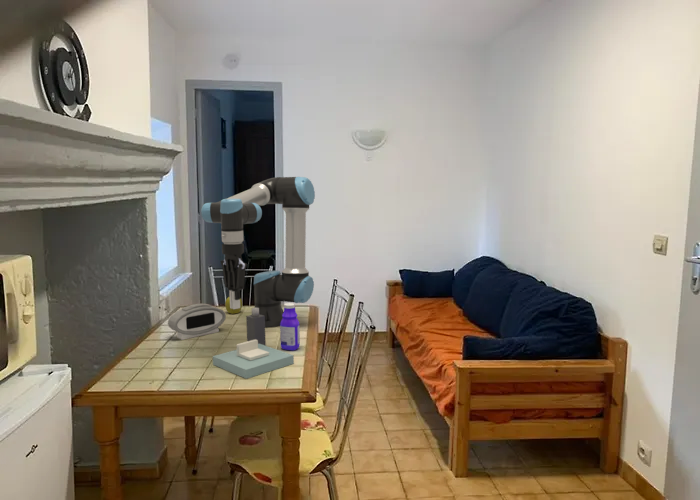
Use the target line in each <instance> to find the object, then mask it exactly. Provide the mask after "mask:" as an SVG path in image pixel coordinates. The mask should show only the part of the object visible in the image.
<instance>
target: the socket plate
mask: <svg viewBox="0 0 700 500" xmlns="http://www.w3.org/2000/svg"><path fill="white" fill-rule="evenodd" d="M258 348H259V349H261V350H264V351H267V352H269V355H268V356H264V357H261V358H257V359H254V360H251V361H250V360H248V359H245V358H242V357H240V356H237V349H234V350H230V351H227V352H223V353H219V354H216V355H213V356H212V365H213V366H215V367H217V368H220V369H223V370H225V371H227V372H230V373H232V374H234V375H237V376H238V377H239V376H240V377H242V378H244V379H245V380H246V379H247V380H248V379H250V378H253V377H256V376H259V375H262V374H265V373H269V372H271V371H275V370H279V369H281V368H284V367H287V366H290V365H293V364H294V363H295V360H294V357H295V356H294V355H295V354H290V353H288V352H285V351H282V350H279V349H276V348H274V347H270V346H268V345H266V346H265V345H262V344H258Z"/></svg>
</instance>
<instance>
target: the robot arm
mask: <svg viewBox="0 0 700 500" xmlns="http://www.w3.org/2000/svg"><path fill="white" fill-rule="evenodd" d="M313 184H314V183H312V181H311V179H309V178H308V177H305V176H282V177H281V176H276V177H271V178H267V179H265V180H262V181H260V182H258V183H255V184H253V185H252V186H251V188H249V189H247V190H244V191H242V192H239V193H237V194H234V195H232V196H229V197H228V198H227V197H226V198H224V199H221V200H219V201H217V202H206V203H204V204H203V205H202V207H201V210H200V213H201V218H202V220H203V221H204V222H206V223H210V224H211V223H212V224H221V227H220V228H221V229H220V230H221V231H220V232H221V242H222V244H221V252H222V255H224V259H222V260H220V265H221V268H222V274H223V282H224V287H225V288H227V289H228V293H229V294H228V297H229V298H230V308H231V309H232V308H233V309H238V308H240V298H241V291H242V290H244V289H245V278H246V270H247V269H246V268H247V267H248V264H247V263H246V262H244V261H243V258H242V255H243V254H244V253H245V250H244V249H245V248H244V245H245V244H244V243H243V242H244V225H247V224H255V223H258V221H260V220H261V218H262V215H263V210H262V208H261V206H265V205H282V206H281V208H282V210H283V211H284V212H285V256H284V257H285V261H284V262H285V263H284V265H285V266H284V269H283V270H281V271H280V270H269V271H263V272H259V273H256V274H254V277H253V293H254V294H253V295H254V298H253V299H254V308H259V314H260V315H263V316H265V328H275V327H280V323H281V321H282V318H283V317H282V314H283V313H284V308H283V307H282V302H284V303H294V304H300V303H301V304H305V303H307V302H308V301H309V300H310V299H311V297H312V295H313V292H314V286H315V283H314V278H313V277H312V276H310V275H309V273H310V271H309V270H308V269H307V268H306V239H307V237H306V234H307V233H306V228H307V225H306V222H307V217H306V216H307V212H308V211H309V210H310V205H312V204H313V203H314V201H315V197H316V194H315V193H316V192H315V191H316V190H315V187H314V185H313Z"/></svg>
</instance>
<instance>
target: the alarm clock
mask: <svg viewBox="0 0 700 500" xmlns="http://www.w3.org/2000/svg"><path fill="white" fill-rule="evenodd" d="M226 317H227V314H226V312H225V311H224V310H223V309H221V308H218V307H216V306H213V305H212V304H208V303H193V304H191V305H187V306H185V307H183V308H180V309H179V310H177V311H175V312H174V313H173V314H172V315H170V317H169V318H168V320H167V325H168V327H169V328H170V329H171V330H173V331H175V332H177V334H176V338H177V339H179V340H182V341H183V340H186V339H187V340H188V339H192V338H197V337H201V336H206V335H210V334H215V333H216V334H217V333H219V332H220V329H219V327H220V326H222V324H223V323H224V322H225V321H226Z"/></svg>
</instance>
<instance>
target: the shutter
mask: <svg viewBox="0 0 700 500" xmlns="http://www.w3.org/2000/svg"><path fill="white" fill-rule="evenodd" d="M235 345H236V350H237V356H240V357H242V358H245V359H248V360H250V361H251V360H254V359H257V358H261V357H264V356H268V355H269V352H267V351H264V350H261V349H259V348H258V340H256V339H255V340H251V341H247V340H246V341H244V342H240V343H237V344H235Z"/></svg>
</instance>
